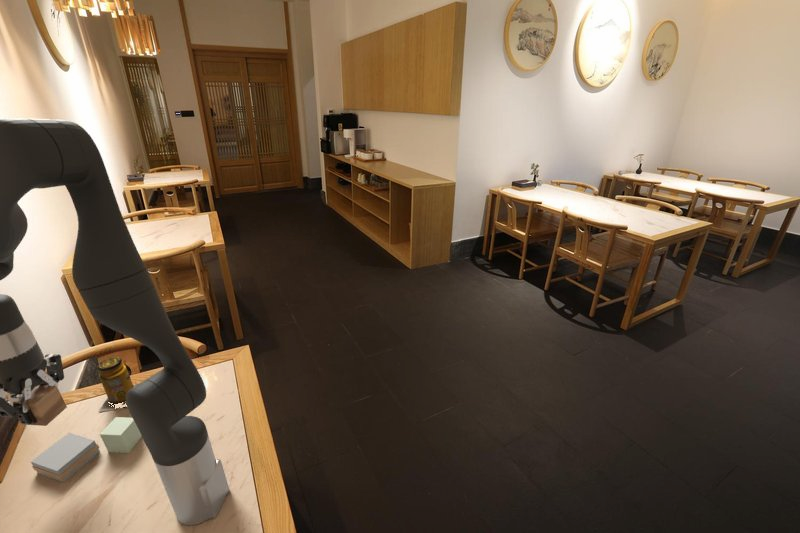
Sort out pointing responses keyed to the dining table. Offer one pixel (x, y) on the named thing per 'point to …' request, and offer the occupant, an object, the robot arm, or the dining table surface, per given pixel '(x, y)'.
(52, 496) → the dining table surface
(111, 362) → the condiment
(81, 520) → the dining table surface
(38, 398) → the walnut block
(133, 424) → the sage block
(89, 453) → the slate base
